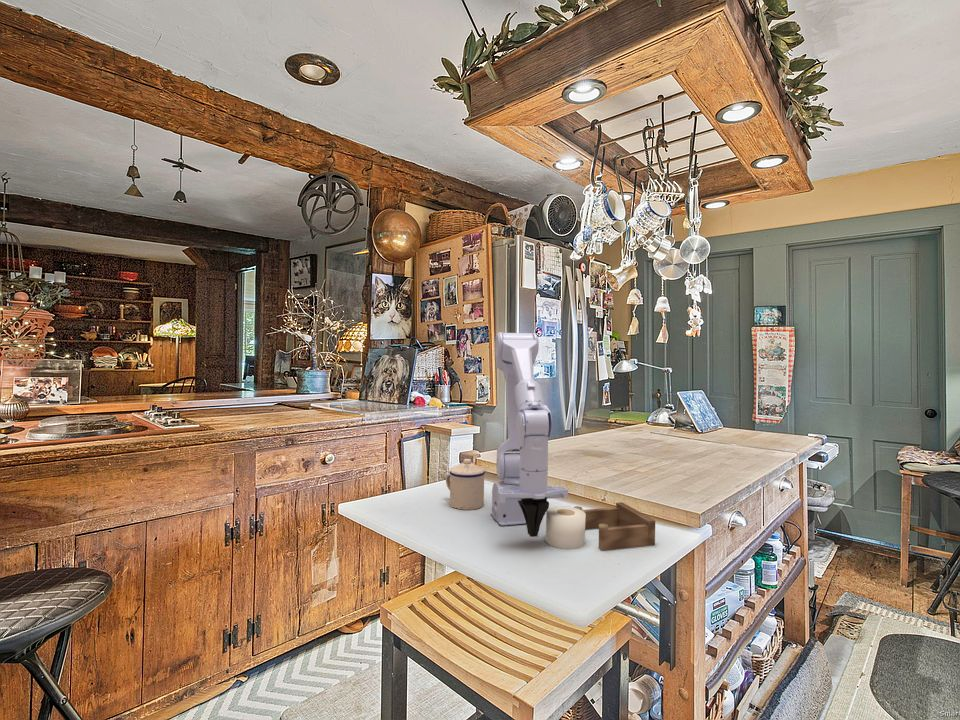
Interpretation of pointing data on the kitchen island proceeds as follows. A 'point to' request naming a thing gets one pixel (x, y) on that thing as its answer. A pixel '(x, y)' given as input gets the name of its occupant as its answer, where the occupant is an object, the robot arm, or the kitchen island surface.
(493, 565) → the kitchen island surface
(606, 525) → the holder
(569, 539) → the roll
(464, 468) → the teacup with lid
